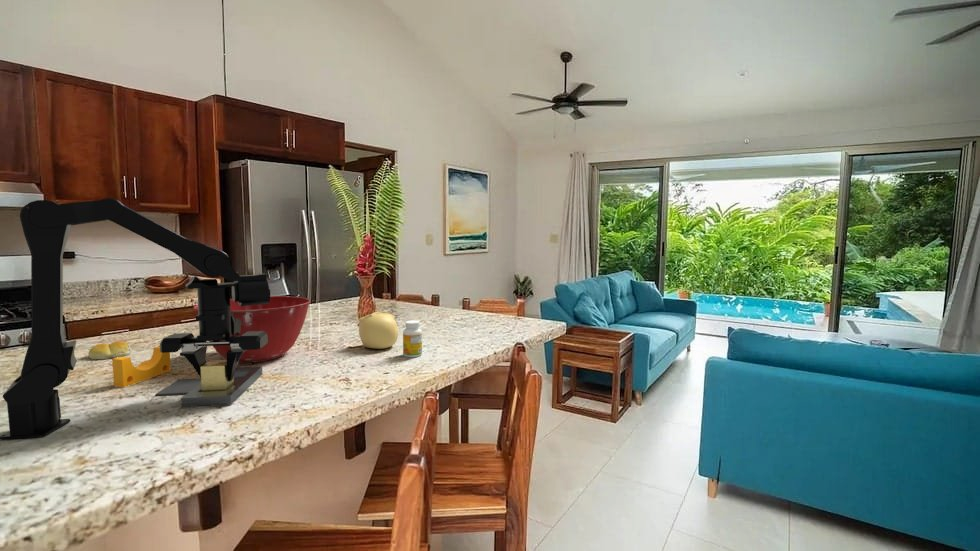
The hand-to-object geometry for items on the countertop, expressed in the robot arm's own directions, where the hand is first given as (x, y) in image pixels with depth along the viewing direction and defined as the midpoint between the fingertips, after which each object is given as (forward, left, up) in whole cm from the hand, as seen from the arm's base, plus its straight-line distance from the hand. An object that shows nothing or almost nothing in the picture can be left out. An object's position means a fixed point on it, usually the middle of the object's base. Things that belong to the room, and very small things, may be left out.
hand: (218, 381), depth 94 cm
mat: (+7, +8, -3) cm, 11 cm away
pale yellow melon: (+37, -31, -4) cm, 48 cm away
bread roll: (+38, +42, -4) cm, 57 cm away
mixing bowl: (+32, +2, -4) cm, 32 cm away
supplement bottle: (+26, -41, -3) cm, 49 cm away
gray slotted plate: (+4, 0, -3) cm, 5 cm away
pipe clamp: (+15, +23, -4) cm, 28 cm away
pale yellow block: (0, 0, -3) cm, 3 cm away
